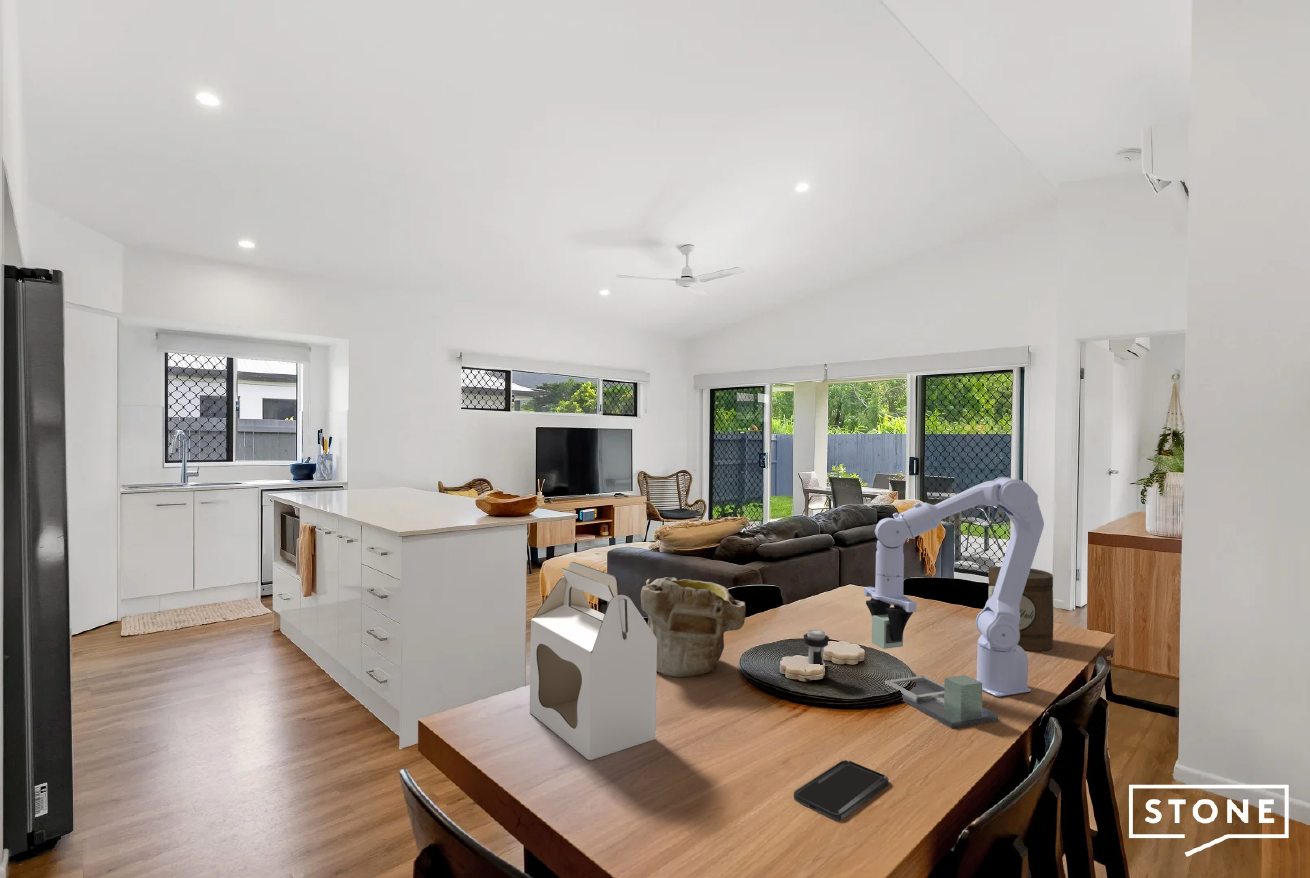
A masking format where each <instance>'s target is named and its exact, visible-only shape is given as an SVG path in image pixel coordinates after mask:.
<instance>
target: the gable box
mask: <svg viewBox="0 0 1310 878" xmlns="http://www.w3.org/2000/svg"><path fill="white" fill-rule="evenodd" d="M561 570H562V572H563V575H561V578H559V580H557V582H556V583H555V585H554V587H553V588H552V589H551V591H550V592H549V594H548V595H547V597H546V598H545V600H544V601H543V603H542V605H540V607H539V608H538V610H537V611H536V613H535V614H534V616H533V617H532V618H531V619H530V649H529V650H530V651H529V652H530V653H529V654H530V656H529V657H530V660H529V661H530V664H529V713H530V714H531V715H532V716H534V718H536V719H538V720H539V721H540V722H541V723H542V724H544V726H546V727H547V728H548V729H550V730H551V731H552V732H553V733H554V734H556V735H557V736H558V737H560V738H561V739H562V740H563V741H564V742H566V743H567V744H568V745H570V746H571V747H572V748H573V749H574V750H575V751H577V752H578V753H579V754H580V755H582V756H583V757H585V759H586V760H588V761H594V760H596V759H600V758H602V757H605V756H608V755H609V756H610V755H612V754H615V753H618V752H620V751H624V750H627V749H630V748H633V747H636V746H639V745H641V744H645V743H647V742H651V741H654V740H656V723H657V722H656V721H657V715H656V714H657V712H656V711H657V674H658V673H657V672H658V671H657V637H655V635H654V634H653V632H652V631H651V629H650V628H649V626H648V622H646V620H645V619H644V616H642V614H641V613H640V611H639V610H638V608H637V607H636V606H635V603H634V602H633V601H632V599H631V598H630V597H629V596H627V595H624V594H621V593H620V590H621V589H620V581H619V578H618V576H616V575H613V574H611V573H608V572H606V571H602V570H599V569H597V568H593V567H591V566H588V565H584V564H582V563H579V562H576V561H569V563H568V569H566V568H564V567H561ZM585 593H586V594H588V595H591V596H593V597H596V598H599V599H601V600H603V601H606V602H608V604H607V607H606V610H605V613H603V612H600V611H598V610H595V609H594V608H591V607H592V606H591V605H590V603H589V601H588V598H587V596H586V594H585Z"/></svg>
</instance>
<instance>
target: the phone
mask: <svg viewBox="0 0 1310 878" xmlns="http://www.w3.org/2000/svg"><path fill="white" fill-rule="evenodd" d="M888 786H889V777H888V776H887V775H885V774H883V773H880V772H877V771H876V770H873V769H872V768H868V767H867V766H863V765H861V764H858V763H856V762H854V761H851V760H846V759H844V760H841V761H839V762H838V763H836V764H835V765H833V766H831V767H830V768H829V769H827V770H825V771H823V772H822V773H820V774H819V775H817V776H816V777H814V778H813V779H811V780H809V781H808V782H806V783H804V784H803V785H801V786H800V787H798V788H797V789H795V790H794V792H793V799H794V801H795V802H797V803H798V804H800V805H802V806H805V807H807V808H809V809H811V810H812V811H815V812H817V813H819V814H821V815H823V816H825V817H827V818H829V819H831V820H834V821H842V820H844V819H845V818H847V817H849V816H850V815H851V814H852V813H854V812H855V811H857V809H859V808H860V807H861V806H863V805H865V803H867V802H868V801H870V800H871V799H872V798H873V797H874V796H876V795H877V794H879V793H880V792H881V791H883V790H884V789H885V788H887V787H888Z"/></svg>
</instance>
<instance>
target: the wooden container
mask: <svg viewBox="0 0 1310 878" xmlns="http://www.w3.org/2000/svg"><path fill="white" fill-rule="evenodd" d="M1000 569H1001V566H991V567H989V568H988V578H987V579H988V595H987V596H988V598H987V600H988V599H989V598H990V597H991V596H992V595H993V592H994V588H995V585H996V582H997V579H998V576H999V572H1000ZM1019 612H1020V622H1019V632H1020V639H1019V642H1018V644H1017V645H1019V646H1020V647H1022V648H1023V650H1024V651H1030V652H1031V651H1032V652H1041V651H1048V650H1051V649H1052V648H1053V646H1054V574H1052V573H1051V572H1048V571H1045V570H1042V569H1035V568H1031V569H1030V572H1029V575H1028V578H1027V582H1026V585H1025V588H1024V591H1023V594H1022V598H1021V601H1020V604H1019Z"/></svg>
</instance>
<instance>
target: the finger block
mask: <svg viewBox="0 0 1310 878" xmlns="http://www.w3.org/2000/svg"><path fill="white" fill-rule="evenodd" d="M871 644H872V645H875V646H877V647H879V648H882V649H884V650H885V649H886V650H887V649H895V648H901V647H902V648H903V647H904V634H903V635H902V638H901V640H900V641H892V640H891V636H890V623H889V618H888V614H885V615H874V616H871Z"/></svg>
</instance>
